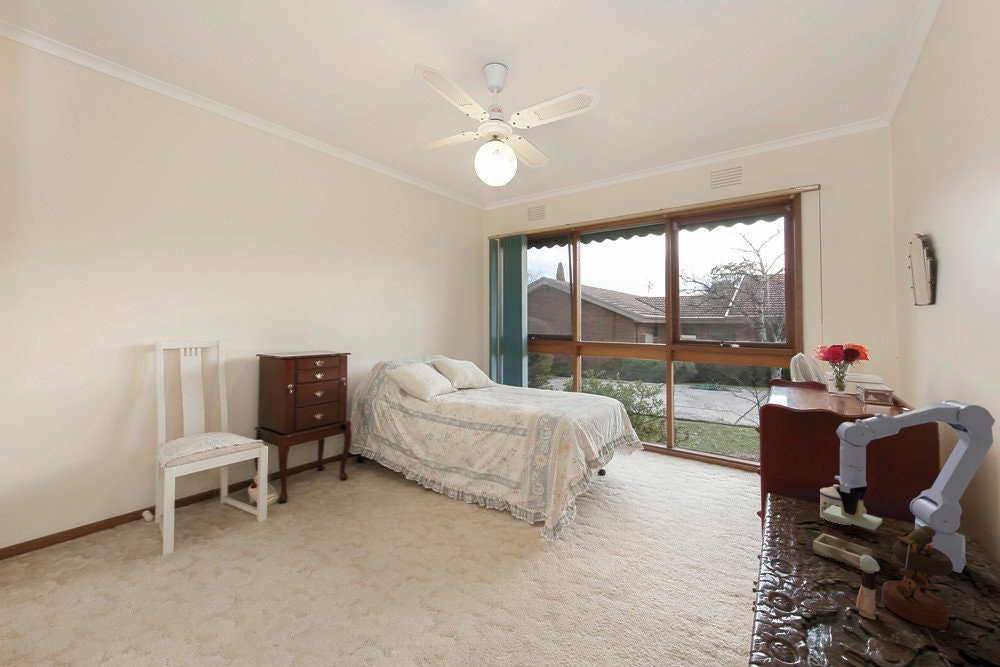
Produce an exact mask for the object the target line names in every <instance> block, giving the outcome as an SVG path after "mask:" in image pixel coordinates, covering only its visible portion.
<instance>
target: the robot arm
mask: <svg viewBox="0 0 1000 667" xmlns="http://www.w3.org/2000/svg"><path fill="white" fill-rule="evenodd" d="M931 422H941V423H946V424H947V425H948V426H949V427H950V428H952V429H953V431H954V432H955V434H956V435H957V436H958V438H959V439H958V441H957V443H956V444H955V446H954V448H953V450H952V452H951V453H950V455H949V457H948V459H947V461H945V463H944V465H943V467H942V469H941V470H940V473H939V474H938V476H937V478H936V480H935V481H934V482H933V484H932V486H931V487H930V488H928V489H926V490H923V491H921V492H920V494H919V495H918V496H917V497H915V498H913V499H912V500H911V502H910V503H909V510H910V512H911V513H912V514H913V515H914V516H915V517H914V518H915V519H914V529H915V530H916V529H920V528H921V527H922V526H929V527H931V528H932V529H934V531H935V533H936V535H935V536H934V537H932V538H933V540H932V542H931V543H930V545H932V547H933V548H935V549H937V550H939V551H941V552H943V553H944V554H946V555H947V556H948V557H949V559H950V560H951V562H952V564H953V570H952V572H955V573H958V574H961V573H962V572H963V570H964V568H965V566H966V562H967V557H966V536H965V535H963V534H961V533H958V532H956V531H957V530H958V529H959V528H960V526H961V515H962V514H963V509H962V506H961V504H960V499H961V498H962V496H963V494H964V493H965V490H966V489H967V487H968V486H969V484H970V483H971V481H972V479H973V477H974V476H975V474H976V472H977V471H978V468H979V467H980V466H981V464H982V462H983V460H985V457H986V455H987V454H988V452H989V451H990V449H991V447H992V445H993V443H994V437H993V436H994V435H993V426H994V424H995V423H996V420H995V418H994V417H993V416H992V414H991V413H990V411H988V410H987V409H986V408H985V407H983V406H981V405H978V404H977V405H976V404H970V403H965V402H964V403H963V402H961V401H957V400H952V399H949V400H944V401H942V402H941V401H940V402H934V403H931V404H930V405H927V406H924V407H921V408H917V409H914V410H910V411H906V412H903V413H901V414H897V415H894V416H892V415H889V414H887V413H884V414H882V413H875V414H874V416H872V417H868V418H865V419H859V418H858V419H855V422H850V421H845V422H842V423H841V424H840V425H839V426H838V427H837V429H836V430H835V432H836V435H837V437H838V438H839V440H840V441H839V442H840V446H839V475H834V480H837V481H838V482H839V484H840V486H837V487H836V490H837V492H838V494H839V495H840V497H841V500H842V503H843V507H844V511H845V513H847V514H851V515H855V513H856V509H857V504H858V501H859V499H860V500H863V501H864V498H865V495H866V494H867V493H868V491H869V489H870V487H869V486H868V484H867V479H866V478H867V477H866V476H867V445H868V444H869V443H870V442H871V441H873V440H877V439H882V438H884V437H885V438H886V437H890V436H894V435H897V434H899V432H900V430H901V429H903V428H908V427H912V426H917V425H923V424H927V423H931ZM927 545H928V544H927Z"/></svg>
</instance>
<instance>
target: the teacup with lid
mask: <svg viewBox="0 0 1000 667" xmlns="http://www.w3.org/2000/svg"><path fill="white" fill-rule="evenodd" d="M837 486H840V485H839V484H833V485H832V486H829V487H822V488H820V490H819V494H820V503H819V517H820V518H821V519H822V518H823V519H822V520H824V519H825V520H827V521H830V522H833V523H838V524H843V525H850V526H852V525H851V523H847V522H844V521H841V520H837V519H834V518H831V517H827V516H824V515H823V512H824V511H825V510H826V509H828V508H829V507H831V506H832V505H834V506H838V507H841V497H840V495H839V494H838V492H837V490H836V487H837ZM863 514H867V509H866V507H865V506H864V505H863ZM825 520H824V521H825ZM827 521H826V522H827ZM830 522H829V523H830ZM833 523H832V524H833Z"/></svg>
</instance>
